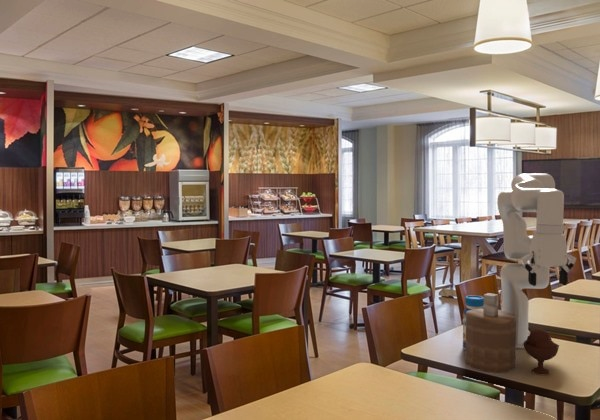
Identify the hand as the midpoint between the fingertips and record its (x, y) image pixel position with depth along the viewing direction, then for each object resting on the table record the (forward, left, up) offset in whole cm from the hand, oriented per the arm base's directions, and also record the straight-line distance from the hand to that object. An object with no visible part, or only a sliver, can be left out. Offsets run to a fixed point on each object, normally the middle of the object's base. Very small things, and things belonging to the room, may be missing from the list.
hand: (547, 284), depth 170 cm
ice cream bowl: (-10, -6, -32) cm, 34 cm away
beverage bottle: (-16, -33, -32) cm, 49 cm away
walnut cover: (-5, -21, -32) cm, 39 cm away
